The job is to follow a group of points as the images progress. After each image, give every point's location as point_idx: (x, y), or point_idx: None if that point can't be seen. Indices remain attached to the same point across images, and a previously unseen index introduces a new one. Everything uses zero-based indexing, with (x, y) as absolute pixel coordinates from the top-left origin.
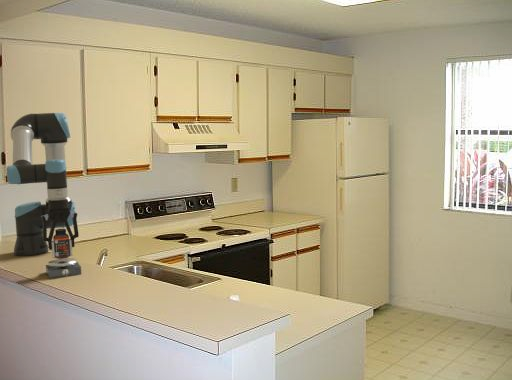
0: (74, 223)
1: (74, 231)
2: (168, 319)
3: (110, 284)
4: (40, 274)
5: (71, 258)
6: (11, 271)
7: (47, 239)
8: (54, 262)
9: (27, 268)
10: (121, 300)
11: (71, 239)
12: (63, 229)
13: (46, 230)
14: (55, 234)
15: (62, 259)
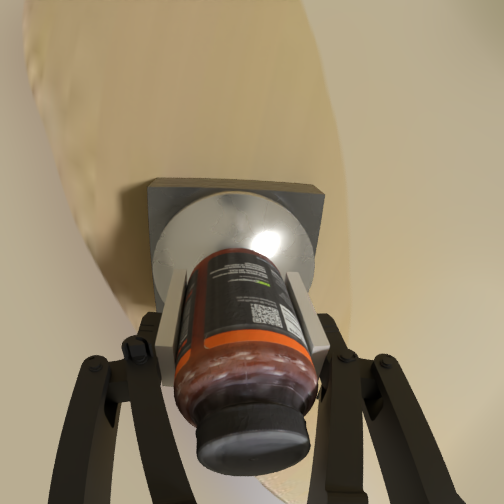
0: (392, 487)
1: (383, 399)
2: (297, 500)
3: (315, 420)
4: (128, 203)
5: (297, 229)
6: (27, 72)
7: (126, 393)
8: (187, 273)
9: (89, 39)
10: (285, 473)
11: (323, 376)
12: (279, 465)
13: (110, 468)
14: (195, 419)
15: (243, 224)
